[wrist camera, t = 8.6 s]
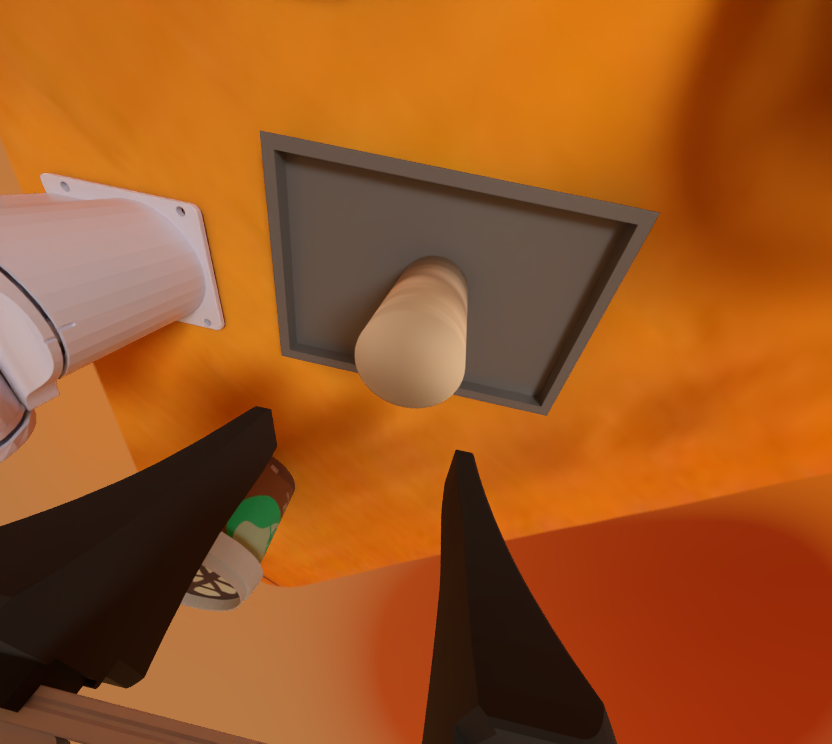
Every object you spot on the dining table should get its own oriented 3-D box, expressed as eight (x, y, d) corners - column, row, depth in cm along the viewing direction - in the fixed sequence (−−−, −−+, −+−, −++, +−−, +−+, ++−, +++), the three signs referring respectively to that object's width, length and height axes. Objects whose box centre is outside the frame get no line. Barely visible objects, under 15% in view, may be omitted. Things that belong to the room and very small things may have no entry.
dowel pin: (397, 318, 19) (355, 398, 12) (401, 251, 16) (353, 303, 10) (461, 328, 18) (454, 415, 12) (474, 260, 16) (475, 321, 10)
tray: (294, 343, 22) (281, 355, 20) (280, 134, 15) (259, 130, 14) (541, 398, 21) (546, 415, 20) (640, 208, 15) (660, 212, 13)
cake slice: (296, 521, 36) (244, 626, 27) (246, 503, 35) (177, 605, 27) (315, 460, 29) (253, 575, 21) (253, 436, 28) (163, 545, 20)
